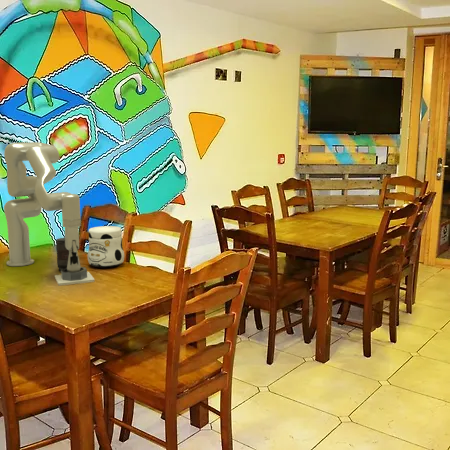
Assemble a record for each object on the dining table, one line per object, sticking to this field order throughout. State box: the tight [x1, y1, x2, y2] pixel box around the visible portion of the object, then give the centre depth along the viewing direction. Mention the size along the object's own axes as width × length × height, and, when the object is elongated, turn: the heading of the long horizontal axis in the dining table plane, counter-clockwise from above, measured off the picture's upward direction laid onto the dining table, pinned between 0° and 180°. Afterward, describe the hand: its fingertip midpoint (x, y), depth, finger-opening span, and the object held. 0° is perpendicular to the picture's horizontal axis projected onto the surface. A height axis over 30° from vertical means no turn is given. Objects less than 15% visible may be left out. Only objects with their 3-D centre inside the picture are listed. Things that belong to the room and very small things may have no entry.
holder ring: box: [60, 266, 88, 281], centre depth 241 cm, size 10×10×4 cm
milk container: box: [87, 225, 125, 269], centre depth 265 cm, size 17×17×18 cm
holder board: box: [54, 271, 95, 286], centre depth 241 cm, size 14×15×1 cm
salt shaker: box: [67, 246, 82, 272], centre depth 240 cm, size 6×6×13 cm
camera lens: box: [55, 237, 69, 273], centre depth 256 cm, size 8×8×15 cm
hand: (73, 263), depth 240 cm, fingers closed on salt shaker, 3 cm apart
